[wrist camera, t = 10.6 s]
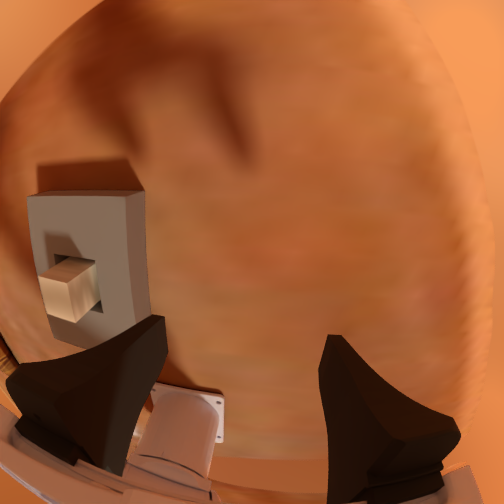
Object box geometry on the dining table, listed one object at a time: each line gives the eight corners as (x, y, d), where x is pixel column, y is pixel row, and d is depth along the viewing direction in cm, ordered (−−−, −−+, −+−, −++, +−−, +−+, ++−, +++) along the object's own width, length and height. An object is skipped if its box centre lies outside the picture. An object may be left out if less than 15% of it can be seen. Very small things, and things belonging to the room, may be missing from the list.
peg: (113, 288, 22) (75, 323, 17) (85, 282, 22) (47, 313, 17) (109, 254, 21) (67, 283, 16) (81, 249, 21) (38, 276, 16)
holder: (155, 345, 24) (143, 365, 21) (69, 323, 24) (54, 338, 22) (144, 190, 19) (125, 196, 16) (48, 190, 20) (26, 196, 17)
